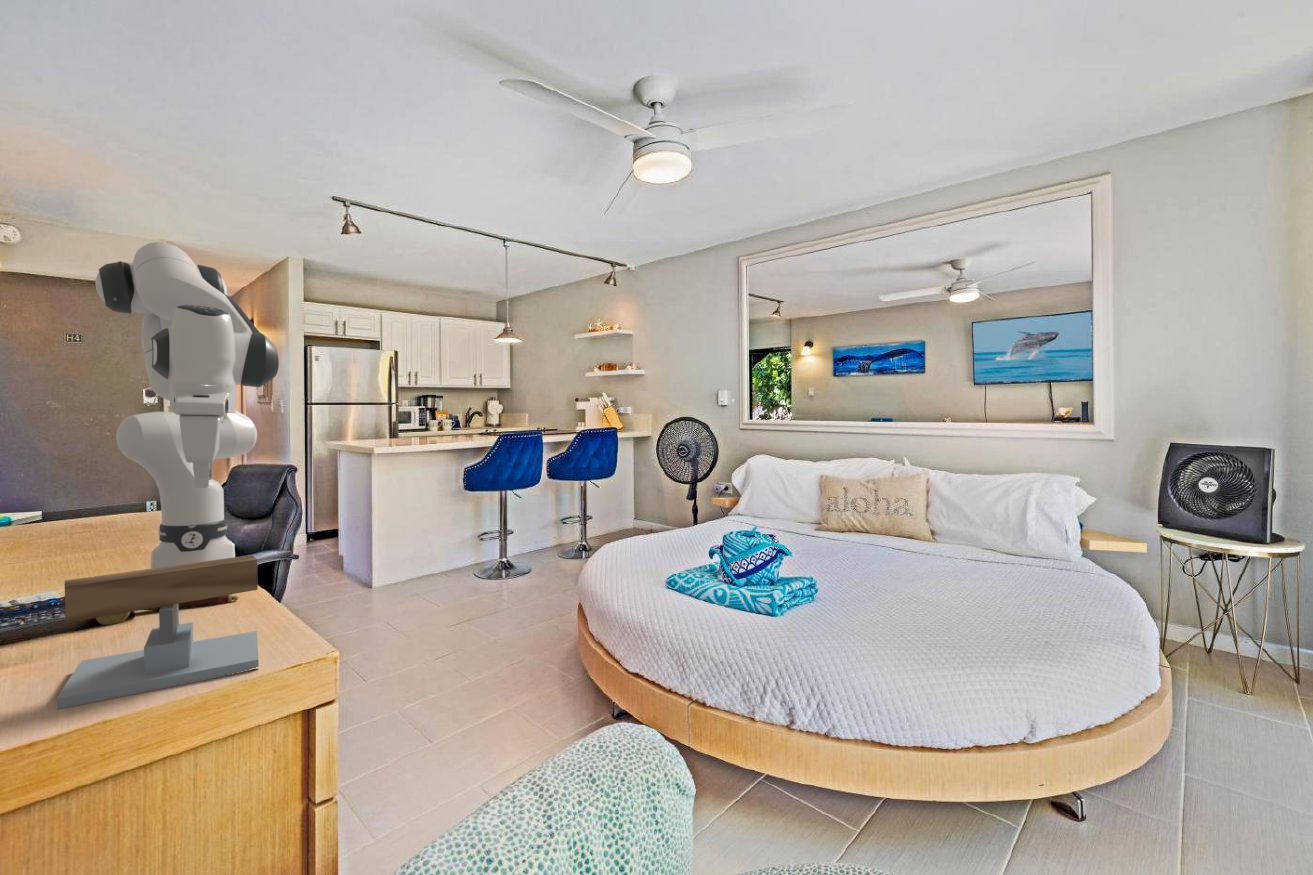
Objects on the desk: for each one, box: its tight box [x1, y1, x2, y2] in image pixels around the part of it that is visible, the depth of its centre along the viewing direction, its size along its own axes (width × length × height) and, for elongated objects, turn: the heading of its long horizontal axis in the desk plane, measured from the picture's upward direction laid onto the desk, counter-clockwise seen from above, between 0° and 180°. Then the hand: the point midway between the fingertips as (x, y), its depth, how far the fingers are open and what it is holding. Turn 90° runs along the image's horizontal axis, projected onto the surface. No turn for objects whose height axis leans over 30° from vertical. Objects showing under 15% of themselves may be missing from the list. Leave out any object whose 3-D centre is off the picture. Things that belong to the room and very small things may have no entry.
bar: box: [64, 554, 259, 624], centre depth 89 cm, size 4×22×5 cm, turn 135°
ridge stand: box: [56, 604, 260, 710], centre depth 89 cm, size 14×22×10 cm, turn 125°
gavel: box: [95, 594, 240, 626], centre depth 116 cm, size 21×5×10 cm
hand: (203, 483), depth 100 cm, fingers open, 8 cm apart
